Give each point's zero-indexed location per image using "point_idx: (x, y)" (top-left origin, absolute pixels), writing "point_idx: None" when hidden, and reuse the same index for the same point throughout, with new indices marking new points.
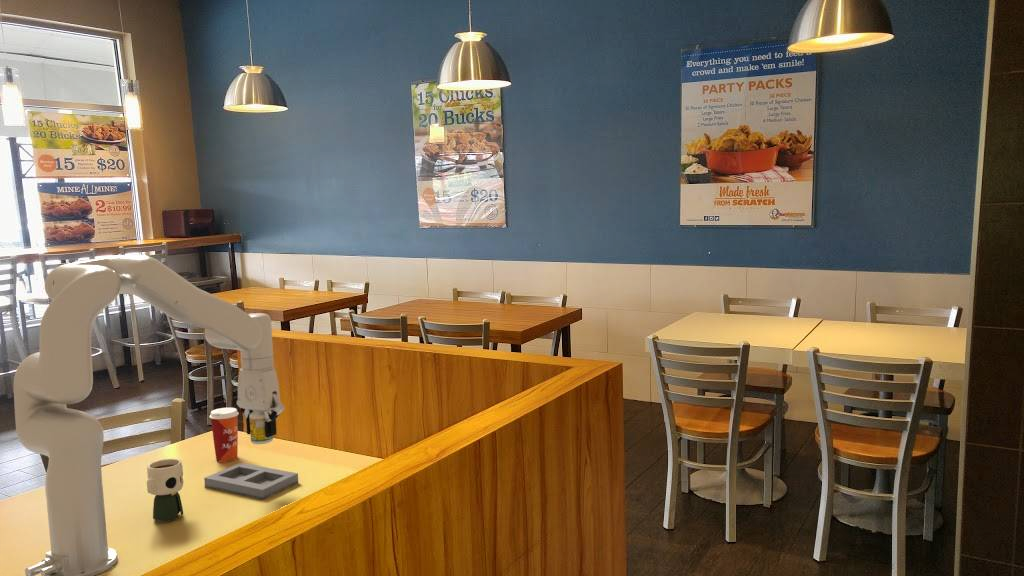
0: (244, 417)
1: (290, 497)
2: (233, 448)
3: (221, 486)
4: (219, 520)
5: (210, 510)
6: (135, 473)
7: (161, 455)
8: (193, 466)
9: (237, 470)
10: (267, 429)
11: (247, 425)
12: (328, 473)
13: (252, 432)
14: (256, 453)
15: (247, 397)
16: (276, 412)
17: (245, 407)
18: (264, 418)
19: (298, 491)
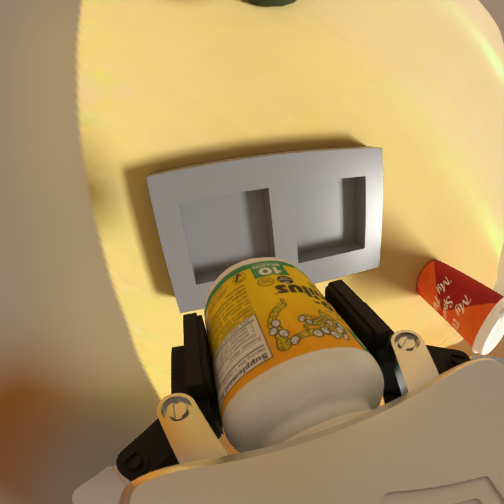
0: (410, 331)
1: (107, 229)
2: (431, 294)
3: (317, 149)
4: (138, 33)
5: (217, 50)
6: (490, 147)
7: (499, 221)
8: (453, 218)
9: (360, 239)
10: (185, 350)
11: (359, 308)
12: None
13: (280, 285)
14: (400, 325)
15: (462, 499)
16: (115, 474)
17: (432, 393)
18: (223, 407)
19: (127, 265)
